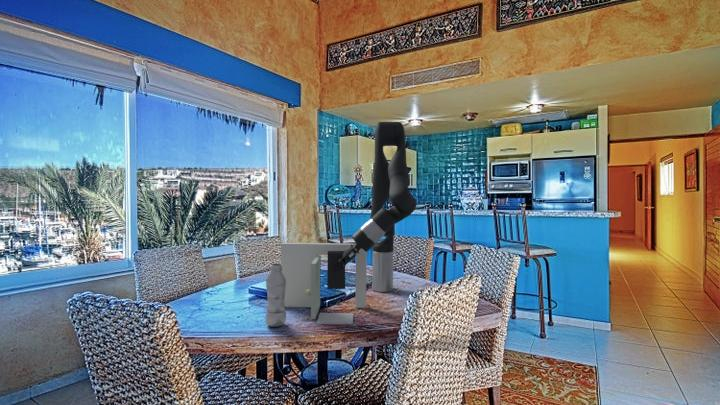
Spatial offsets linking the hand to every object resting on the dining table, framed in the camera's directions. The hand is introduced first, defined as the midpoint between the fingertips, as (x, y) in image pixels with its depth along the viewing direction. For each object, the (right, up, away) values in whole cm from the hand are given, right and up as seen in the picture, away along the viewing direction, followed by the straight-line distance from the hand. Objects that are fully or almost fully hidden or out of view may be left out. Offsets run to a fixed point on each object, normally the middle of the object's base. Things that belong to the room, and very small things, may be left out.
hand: (333, 269), depth 130 cm
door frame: (-5, -17, +5) cm, 18 cm away
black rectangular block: (+1, -6, 0) cm, 6 cm away
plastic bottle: (-18, -17, -6) cm, 26 cm away
